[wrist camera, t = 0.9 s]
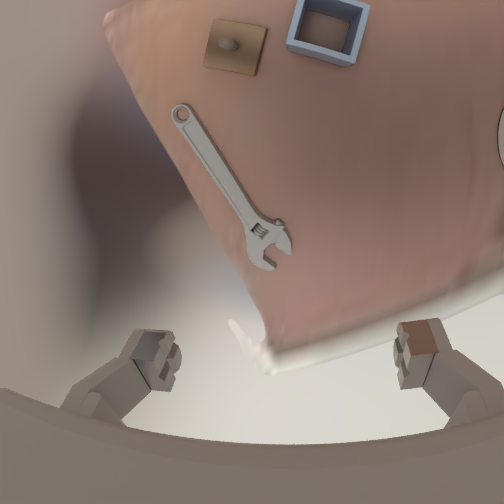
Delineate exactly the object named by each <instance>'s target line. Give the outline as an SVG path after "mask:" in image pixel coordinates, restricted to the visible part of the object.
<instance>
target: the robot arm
mask: <svg viewBox="0 0 504 504" xmlns="http://www.w3.org/2000/svg"><path fill="white" fill-rule="evenodd" d="M498 144H499V152H500V156H501V160H502V163H503V165H504V110H503V113H502V116H501V119H500V124H499V131H498ZM397 334H398V337H397V338H396V339H395V342H394V361H395V365H396V366H397V367H398V368H399V371H398V380H399V385H400V389H401V390H402V389H411V388H419V387H423V389H424V390H425V391H426V392H427V393H428V395H429V396H430V397H431V398H432V399H433V400H434V401H435V402H436V403H437V404H438V405H439V406H440V407H441V409H442V410H443V411H444V412H445V413H446V414H447V415H448V416H449V417H450V419H449V421H448V423H447V424H446V426H445V427H444V429H440V430H435V431H430V432H425V433H419V434H414V435H408V436H401V437H395V438H388V439H379V440H370V441H360V442H348V443H333V444H307V445H275V444H272V445H271V444H248V443H233V442H220V441H211V440H201V439H194V438H186V437H179V436H173V435H167V434H160V433H155V432H150V431H144V430H139V429H134V428H130V427H127V426H126V425H125V424H124V423H123V422H122V420H121V419H122V418H123V417H124V416H125V415H126V414H128V413H129V412H130V411H131V410H132V409H133V408H134V407H135V406H136V405H137V404H138V403H139V402H140V401H141V400H142V399H144V398H145V397H146V396H147V395H148V394H149V393H150V392H151V390H156V391H166V392H171V389H172V387H173V384H174V381H175V376H174V373H175V372H176V371H178V370H179V368H180V365H181V358H182V357H181V351H180V348H179V346H178V345H176V344H175V343H174V340H175V337H174V334H173V332H171V331H164V330H149V329H147V330H146V329H135V330H134V331H133V332H132V334H131V336H130V338H129V339H128V341H127V343H126V345H125V346H124V348H123V350H122V352H121V353H120V356H119V357H118V358H114V359H112V360H111V361H109V362H108V363H106V364H105V365H103V366H102V367H100V368H99V369H98V370H96V371H94V372H93V373H91V374H90V375H88V376H87V377H85V378H84V379H83V380H81V381H80V382H78V383H76V384H75V385H74V386H72V388H71V390H70V392H69V393H68V395H67V397H66V398H65V400H64V402H63V404H62V405H61V407H60V408H57V407H53V406H51V405H48V404H45V403H42V402H40V401H37V400H34V399H32V398H29V397H26V396H23V395H21V394H19V393H16V392H14V391H12V390H9V389H7V388H0V504H504V389H503V387H502V384H501V382H499V381H498V380H497V379H495V378H494V377H493V376H491V375H490V374H489V373H487V372H486V371H485V370H483V369H482V368H481V367H479V366H478V365H477V364H475V363H474V362H473V361H471V360H469V359H468V358H467V357H466V356H464V355H463V354H461V353H460V352H459V351H458V350H453V349H452V346H451V344H450V342H449V339H448V337H447V334H446V332H445V330H444V328H443V325H442V323H441V321H440V319H439V318H432V319H425V320H418V321H409V322H401V323H399V324H398V327H397Z"/></svg>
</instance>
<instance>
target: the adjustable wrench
mask: <svg viewBox="0 0 504 504" xmlns="http://www.w3.org/2000/svg"><path fill="white" fill-rule="evenodd" d="M180 108H186V109H187V110H188V111H189V117H188V118H187V119H186V120H180V119H178V117H177V111H178V110H179V109H180ZM171 118H172V120H173V122H174V123H175V125H176V126H177V127H178V129H179V130H180V132H181V133H182V135H183V136H184V137H185V139H186V140H187V142H188V143H189V145H190V146H191V148H192V149H193V151H194V152H195V153H196V155H197V156H198V158H199V159H200V161H201V162H202V164H203V165H204V166H205V168H206V169H207V171H208V172H209V174H210V175H211V177H212V178H213V180H214V181H215V183H216V184H217V185H218V187H219V188H220V190H221V191H222V193H223V194H224V196H225V197H226V199H227V200H228V201H229V203H230V204H231V206H232V207H233V209H234V210H235V212H236V213H237V215H238V216H239V218H240V220H241V221H242V224H243V227H244V231H245V236H246V243H247V254H248V257H249V259H250V260H251V262H252V263H253V264H255V265H256V266H257V267H259V268H261V269H264V270H272V271H273V270H275V269H276V266H277V264H276V263H275V262H273V261H272V260H270V259H269V258H268V257H266V256H265V255H264V249H265V248H266V247H267V246H268V245H269V244H271V243H276V247H278V248H279V249H280V250H282V251H283V252H284V253H286V254H287V255H290V254H291V251H292V241H291V237H290V235H289V233H288V231H287V230H286V228H285V223H284V222H281V221H280V220H279V219H277V220H276V221H273V220H271V219H269V218H267V217H265V216H263V215H262V214H261V213H260V212H259V211H258V210H257V209H256V208H255V207H254V205H253V203H252V202H251V200H250V199H249V197H248V195H247V194H246V192H245V190H244V189H243V187H242V186H241V184H240V182H239V181H238V179H237V178H236V176H235V175H234V173H233V171H232V170H231V168H230V167H229V165H228V163H227V162H226V160H225V159H224V157H223V156H222V154H221V152H220V151H219V149H218V148H217V146H216V145H215V143H214V141H213V140H212V138H211V137H210V135H209V134H208V132H207V130H206V129H205V127H204V126H203V124H202V123H201V121H200V120H199V118H198V117H197V115H196V113H195V112H194V110H193V109H192V108H191V106H189V105H187V104H180V105H177V106H175V107H174V108H173V110H172V112H171ZM257 222H258V224H257V225H256V227H254V226H255V224H256V223H257ZM253 227H254V228H253Z"/></svg>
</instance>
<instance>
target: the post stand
mask: <svg viewBox="0 0 504 504" xmlns="http://www.w3.org/2000/svg"><path fill="white" fill-rule="evenodd" d="M267 30H268V29H267V28H266V27H261V26H256V25H250V24H244V23H238V22H232V21H225V20H217V19H214V20H213V24H212V28H211V32H210V36H209V40H208V44H207V48H206V53H205V57H204V61H203V66H204V67H210V68H216V69H222V70H227V71H232V72H237V73H242V74H247V75H252V76H256V72H257V68H258V64H259V60H260V57H261V53H262V49H263V45H264V41H265V37H266V34H267Z"/></svg>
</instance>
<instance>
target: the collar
mask: <svg viewBox="0 0 504 504" xmlns="http://www.w3.org/2000/svg"><path fill="white" fill-rule="evenodd" d="M370 7H371V5H368V4H366V3H363V2H360V1H357V0H297V4H296V8H295V11H294V15H293V18H292V22H291V26H290V29H289V33H288V37H287V40H286V45H287V48H288V50H289V51H290V52H294V53H298V54H302V55H305V56H309V57H313V58H316V59H319V60H323V61H326V62H329V63H332V64H336V65H339V66H342V67H346V66H349V65H353V64H355V62H356V58H357V55H358V51H359V47H360V44H361V40H362V37H363V33H364V29H365V26H366V22H367V18H368V15H369V11H370ZM306 9H307V10H311V11H315V12H319V13H322V14H326V15H329V16H332V17H336V18H339V19H342V20H345V21H348V22H351V23H350V26H349V30H348V34H347V37H346V41H345V45H344V48H343V52H342V53H340V52H337V51H333V50H330V49H327V48H324V47H320V46H317V45H313V44H310V43H306V42H302V41H299V40H298V36H299V33H300V29H301V26H302V22H303V18H304V15H305V11H306Z"/></svg>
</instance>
